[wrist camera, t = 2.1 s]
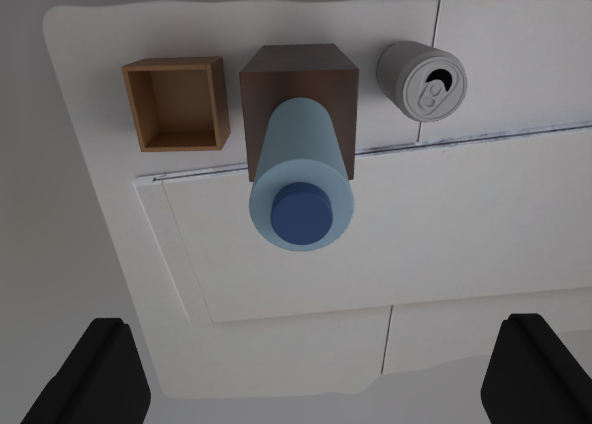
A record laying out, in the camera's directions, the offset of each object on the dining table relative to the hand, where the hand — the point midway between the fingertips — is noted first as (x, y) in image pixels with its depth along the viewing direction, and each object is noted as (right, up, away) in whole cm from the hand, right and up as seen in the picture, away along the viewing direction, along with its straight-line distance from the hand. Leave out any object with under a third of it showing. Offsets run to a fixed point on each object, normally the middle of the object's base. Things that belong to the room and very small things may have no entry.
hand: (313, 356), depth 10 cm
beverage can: (+12, +20, +34) cm, 42 cm away
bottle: (0, +10, +17) cm, 20 cm away
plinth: (0, +19, +35) cm, 40 cm away
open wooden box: (-13, +17, +36) cm, 42 cm away
